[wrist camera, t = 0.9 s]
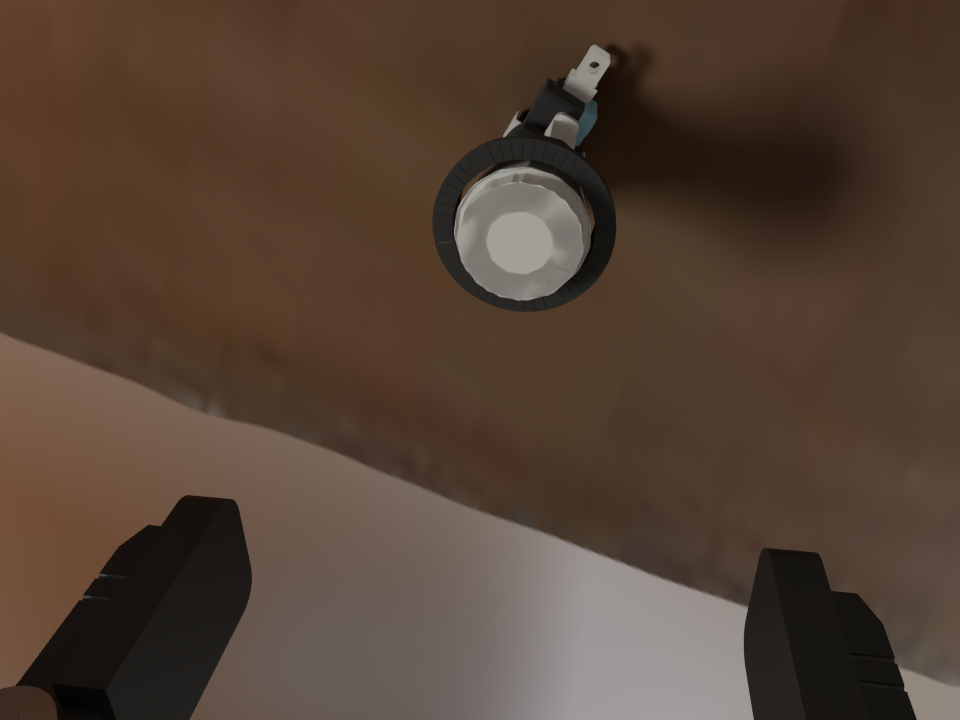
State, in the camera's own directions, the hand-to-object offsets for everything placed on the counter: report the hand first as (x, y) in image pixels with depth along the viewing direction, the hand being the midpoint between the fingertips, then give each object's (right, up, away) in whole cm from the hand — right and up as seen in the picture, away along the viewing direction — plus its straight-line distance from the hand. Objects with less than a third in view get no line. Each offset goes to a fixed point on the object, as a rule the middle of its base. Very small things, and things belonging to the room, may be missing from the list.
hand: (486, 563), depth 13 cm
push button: (+3, +12, +19) cm, 22 cm away
